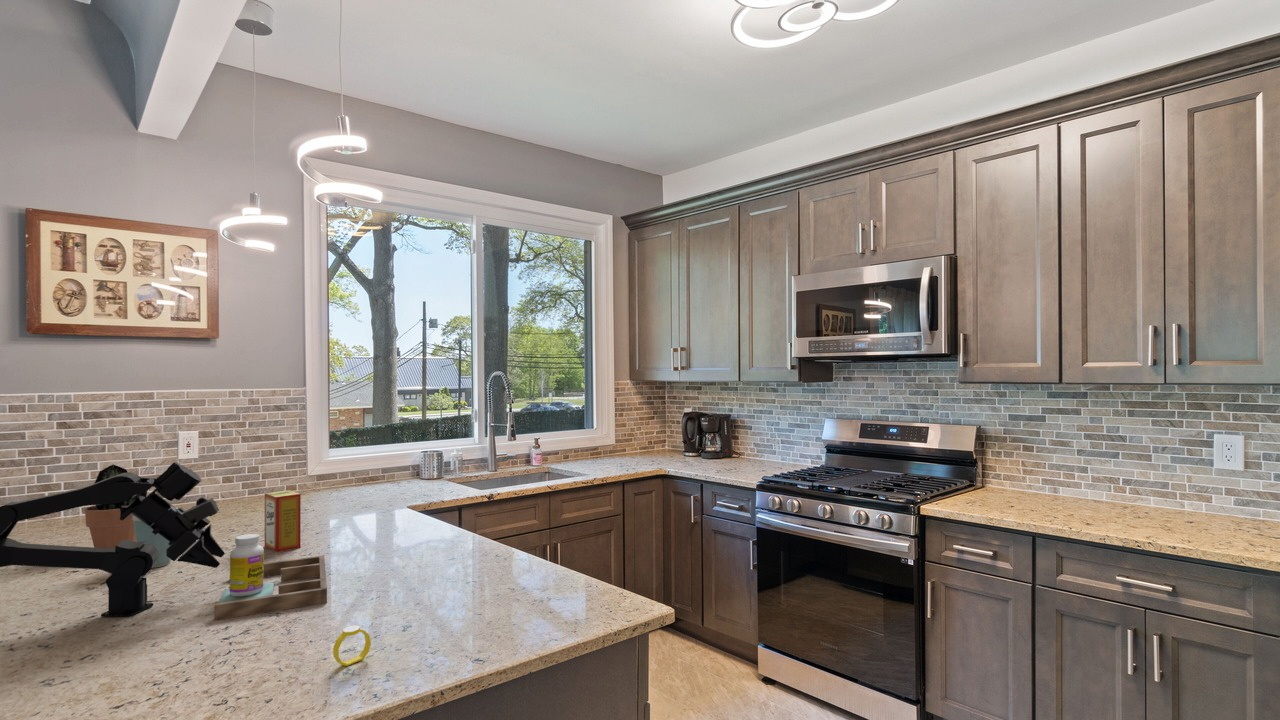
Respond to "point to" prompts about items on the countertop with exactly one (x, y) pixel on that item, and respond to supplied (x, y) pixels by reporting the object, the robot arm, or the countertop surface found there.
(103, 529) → the potted plant
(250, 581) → the supplement bottle
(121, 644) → the countertop surface
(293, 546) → the baking soda box
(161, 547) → the disposable coffee cup
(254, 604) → the wooden compartment box
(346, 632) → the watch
